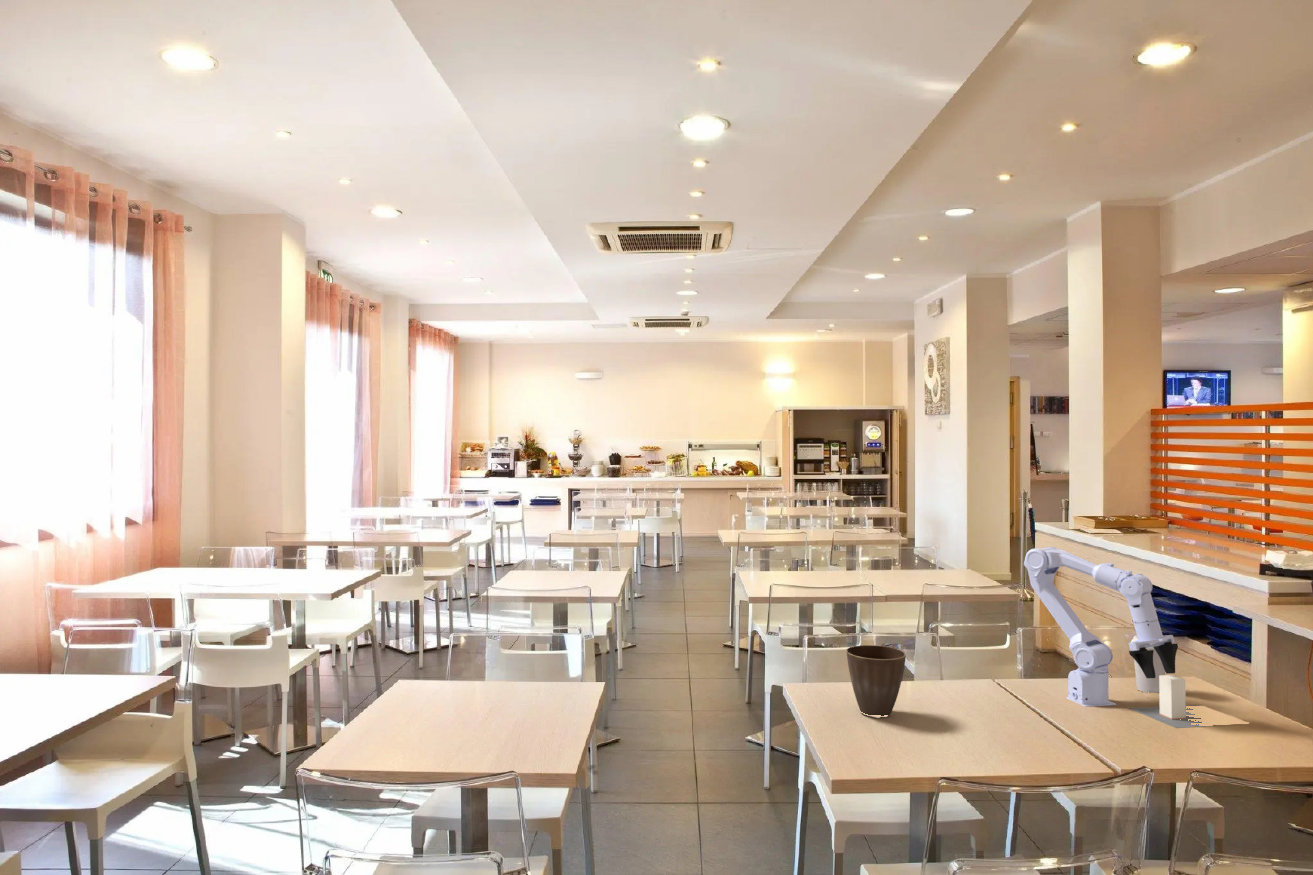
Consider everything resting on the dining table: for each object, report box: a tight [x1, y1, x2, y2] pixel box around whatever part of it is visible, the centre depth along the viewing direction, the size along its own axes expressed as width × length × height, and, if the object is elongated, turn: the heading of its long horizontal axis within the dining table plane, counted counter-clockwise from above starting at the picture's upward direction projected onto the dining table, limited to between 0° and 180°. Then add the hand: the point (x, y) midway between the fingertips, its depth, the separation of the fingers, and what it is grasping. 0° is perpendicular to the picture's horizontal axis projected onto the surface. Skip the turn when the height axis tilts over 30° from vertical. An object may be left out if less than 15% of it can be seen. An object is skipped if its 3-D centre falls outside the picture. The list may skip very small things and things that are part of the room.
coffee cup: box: [1130, 634, 1166, 694], centre depth 235 cm, size 10×10×15 cm
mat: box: [1128, 704, 1206, 729], centre depth 211 cm, size 22×16×1 cm
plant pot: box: [845, 644, 907, 716], centre depth 212 cm, size 15×15×16 cm
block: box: [1158, 674, 1187, 719], centre depth 210 cm, size 4×4×10 cm
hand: (1161, 675), depth 209 cm, fingers open, 7 cm apart
